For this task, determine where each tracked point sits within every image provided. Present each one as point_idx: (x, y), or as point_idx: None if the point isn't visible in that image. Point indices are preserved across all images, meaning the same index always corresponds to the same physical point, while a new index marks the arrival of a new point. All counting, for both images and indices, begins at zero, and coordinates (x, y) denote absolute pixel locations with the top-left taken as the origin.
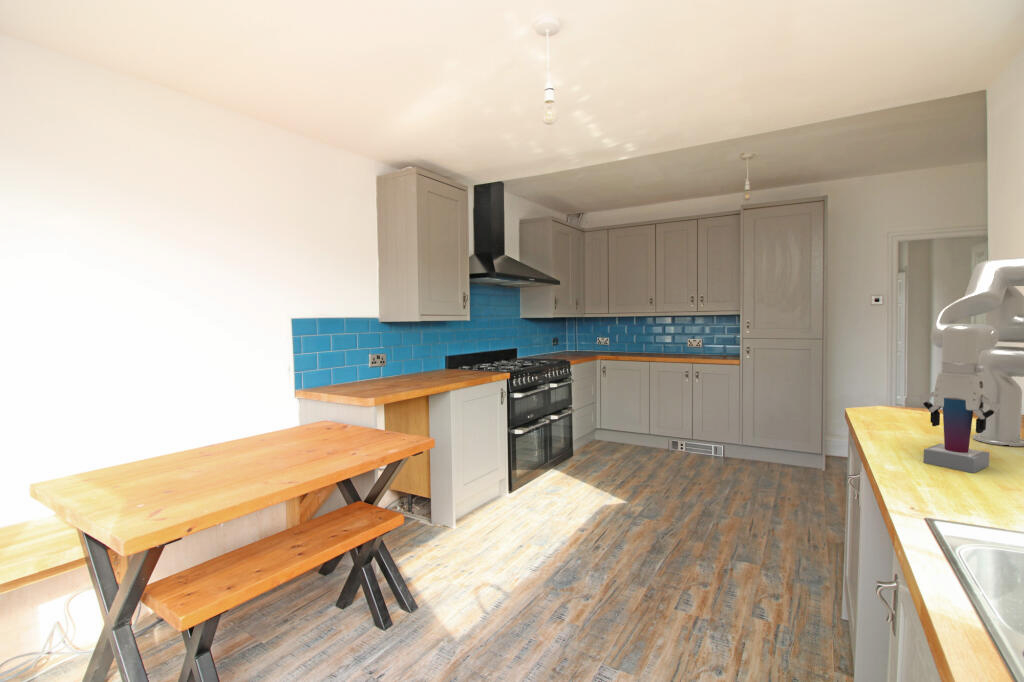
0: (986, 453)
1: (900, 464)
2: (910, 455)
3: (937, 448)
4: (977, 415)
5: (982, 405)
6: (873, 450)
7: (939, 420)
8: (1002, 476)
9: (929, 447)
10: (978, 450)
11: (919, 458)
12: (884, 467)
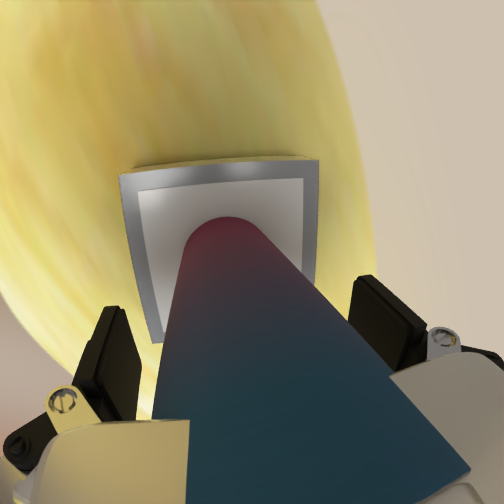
0: (317, 195)
1: (144, 374)
2: (79, 253)
3: (171, 299)
4: None
5: (494, 365)
6: (13, 296)
7: (118, 332)
8: (350, 251)
9: (142, 301)
10: (280, 162)
11: (115, 266)
12: (151, 416)
